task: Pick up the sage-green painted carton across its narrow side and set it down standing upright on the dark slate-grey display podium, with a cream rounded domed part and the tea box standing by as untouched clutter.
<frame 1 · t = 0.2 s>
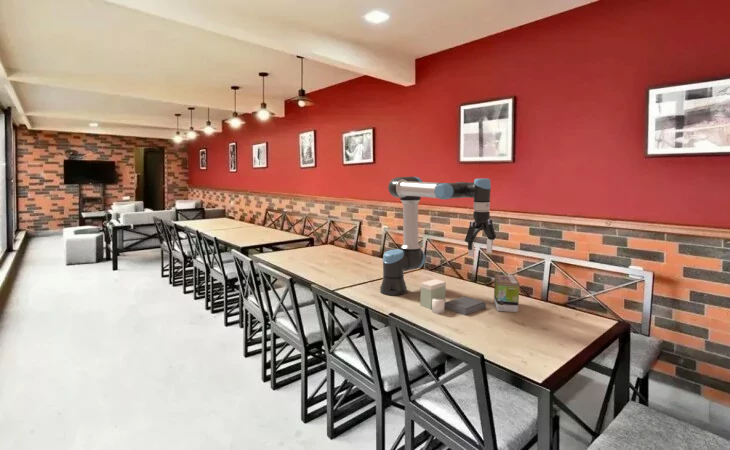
hand: (480, 254, 192), 28 cm above the table, fingers open, 13 cm apart
tea box: (505, 307, 199), on the table
cream rounded domed part: (438, 311, 193), on the table
carton: (432, 305, 203), on the table
podium: (464, 307, 198), on the table
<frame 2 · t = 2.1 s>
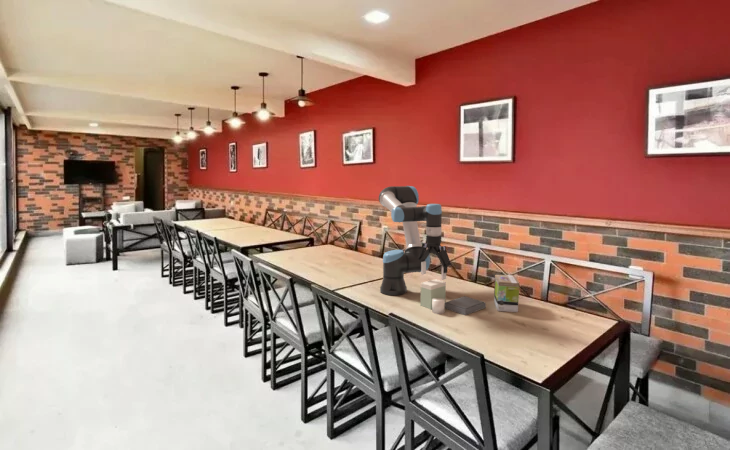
hand: (433, 276, 200), 15 cm above the table, fingers open, 13 cm apart
nothing on the table moved.
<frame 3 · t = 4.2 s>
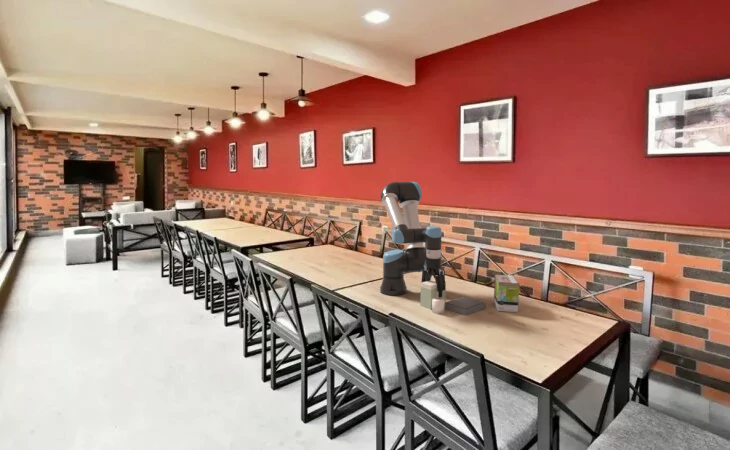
hand: (432, 301, 202), 2 cm above the table, fingers closed on carton, 7 cm apart
carton: (432, 305, 203), on the table, touching gripper
everything else where it was.
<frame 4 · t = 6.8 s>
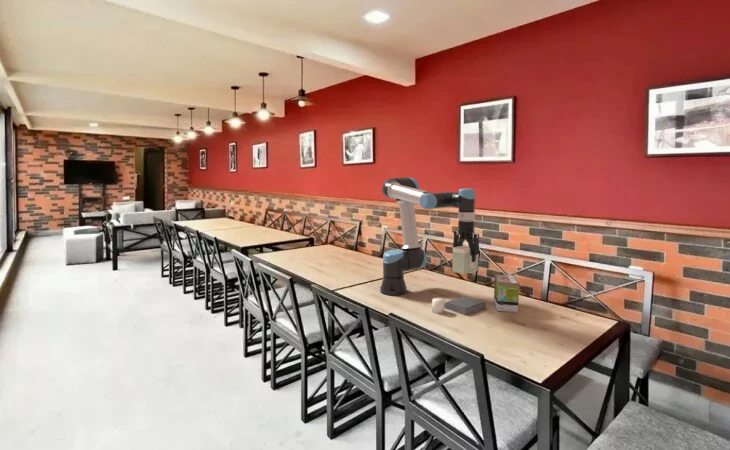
hand: (465, 266, 195), 21 cm above the table, fingers closed on carton, 7 cm apart
carton: (465, 270, 195), point 19 cm above the table, touching gripper
everything else where it was.
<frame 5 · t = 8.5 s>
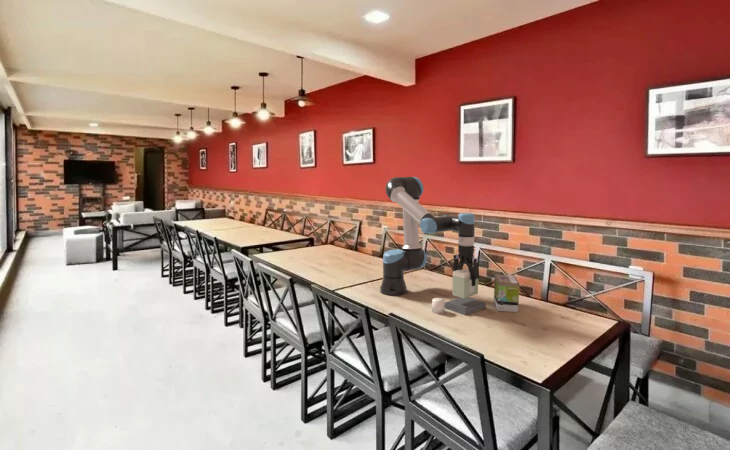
hand: (465, 290, 197), 9 cm above the table, fingers closed on carton, 7 cm apart
carton: (465, 294, 197), point 7 cm above the table, touching gripper
everything else where it was.
when the fingers open (7 cm above the table, at t = 9.7 s): carton drops 2 cm, resting on podium.
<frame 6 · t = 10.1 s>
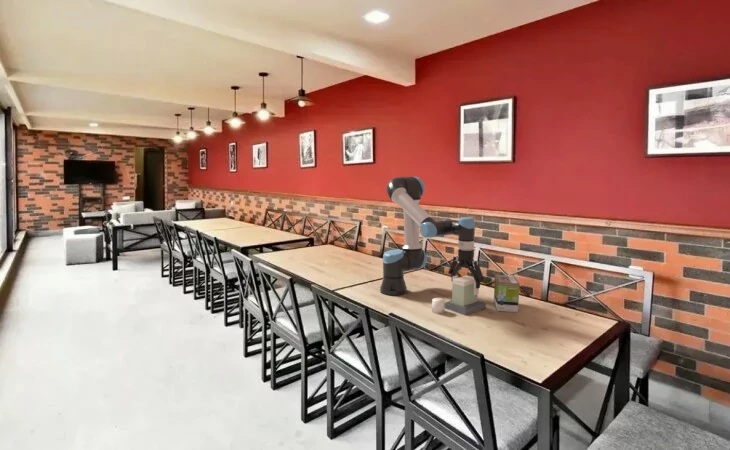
hand: (465, 291, 197), 9 cm above the table, fingers open, 12 cm apart
carton: (464, 302, 197), point 3 cm above the table, touching podium
everything else where it was.
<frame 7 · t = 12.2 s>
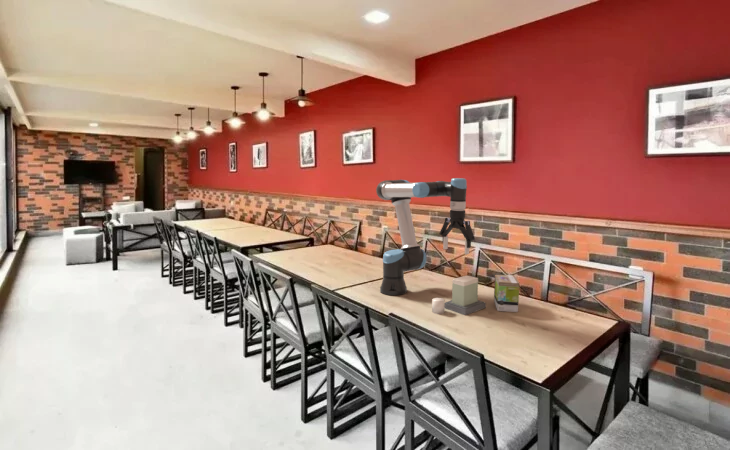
hand: (455, 251, 199), 28 cm above the table, fingers open, 13 cm apart
nothing on the table moved.
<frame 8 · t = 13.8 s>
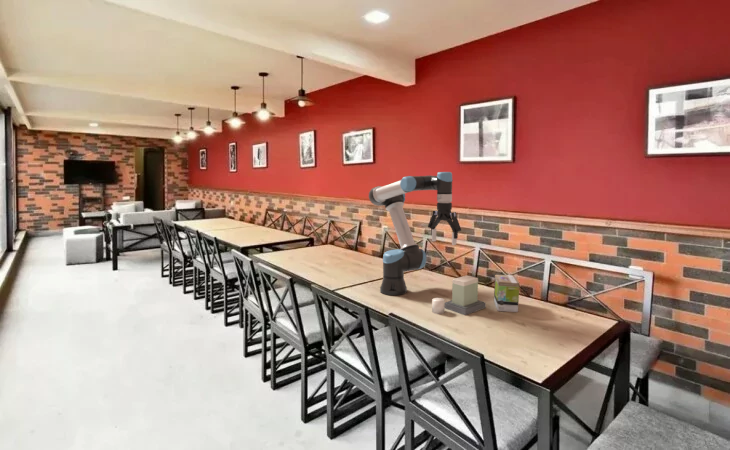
hand: (443, 243, 206), 31 cm above the table, fingers open, 13 cm apart
nothing on the table moved.
at the end: carton inside the target area on the podium (0.1 cm from its centre), point 3.0 cm above the podium's base; carton tilted 0°; the gripper is holding nothing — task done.
